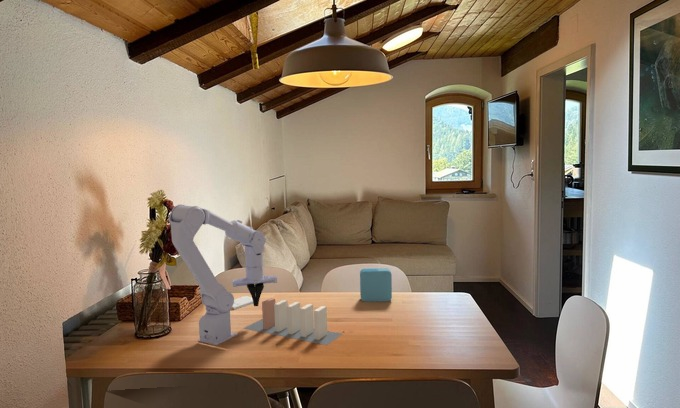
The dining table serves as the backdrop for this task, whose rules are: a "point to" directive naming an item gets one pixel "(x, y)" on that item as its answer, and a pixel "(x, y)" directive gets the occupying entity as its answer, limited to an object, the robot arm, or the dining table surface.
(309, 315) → the domino
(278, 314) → the domino
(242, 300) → the external hard drive
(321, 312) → the domino
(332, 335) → the mat
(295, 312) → the domino
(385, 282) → the blue rounded slab
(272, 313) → the domino
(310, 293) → the dining table surface
